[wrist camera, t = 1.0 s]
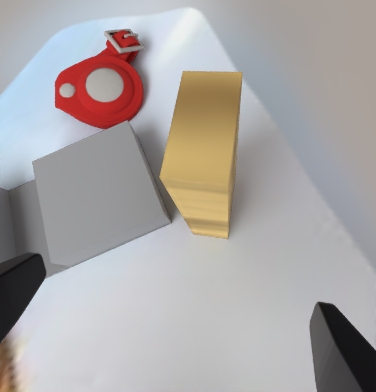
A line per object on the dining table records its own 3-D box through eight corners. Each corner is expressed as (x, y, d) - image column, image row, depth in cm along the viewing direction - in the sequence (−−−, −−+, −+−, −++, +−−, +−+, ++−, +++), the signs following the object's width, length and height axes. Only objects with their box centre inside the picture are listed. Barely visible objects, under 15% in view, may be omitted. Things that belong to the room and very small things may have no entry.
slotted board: (171, 222, 23) (163, 213, 20) (-76, 331, 23) (-118, 337, 20) (137, 138, 27) (127, 120, 24) (-75, 230, 26) (-110, 223, 24)
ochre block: (227, 238, 22) (228, 184, 11) (193, 233, 22) (159, 177, 11) (235, 174, 24) (242, 71, 12) (203, 172, 24) (182, 71, 13)
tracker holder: (149, 120, 26) (45, 123, 25) (150, 136, 30) (62, 139, 29) (141, 14, 28) (44, 12, 26) (144, 44, 32) (60, 43, 31)
